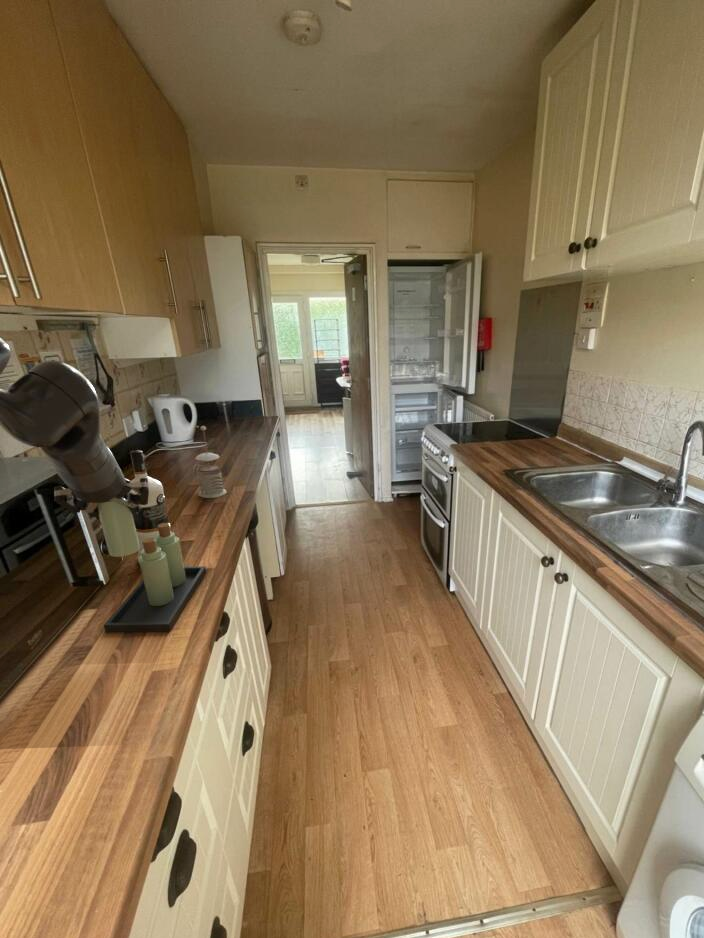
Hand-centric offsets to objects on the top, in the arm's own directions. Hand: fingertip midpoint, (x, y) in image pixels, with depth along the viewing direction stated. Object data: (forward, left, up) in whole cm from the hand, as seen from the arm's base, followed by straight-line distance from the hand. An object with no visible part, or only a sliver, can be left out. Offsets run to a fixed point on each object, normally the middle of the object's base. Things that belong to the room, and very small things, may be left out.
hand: (117, 512), depth 80 cm
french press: (-9, +75, -25) cm, 80 cm away
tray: (+1, +7, -25) cm, 26 cm away
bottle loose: (+1, -2, -7) cm, 7 cm away
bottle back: (+1, +14, -24) cm, 28 cm away
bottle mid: (+1, +7, -24) cm, 25 cm away
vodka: (-7, +25, -25) cm, 36 cm away
